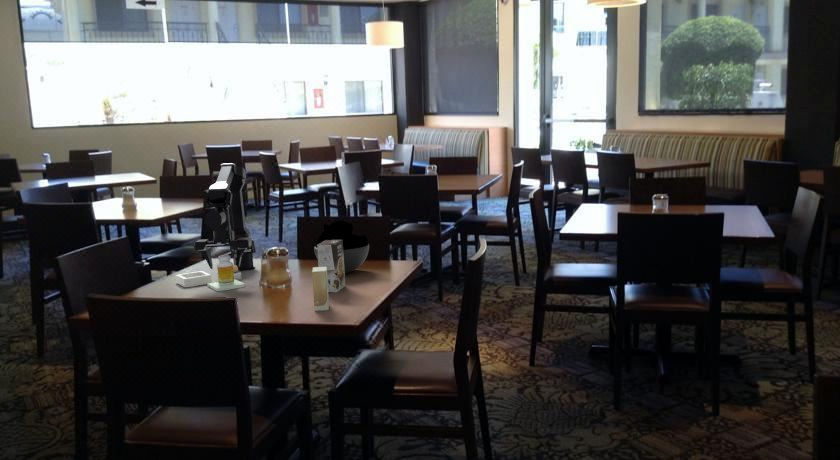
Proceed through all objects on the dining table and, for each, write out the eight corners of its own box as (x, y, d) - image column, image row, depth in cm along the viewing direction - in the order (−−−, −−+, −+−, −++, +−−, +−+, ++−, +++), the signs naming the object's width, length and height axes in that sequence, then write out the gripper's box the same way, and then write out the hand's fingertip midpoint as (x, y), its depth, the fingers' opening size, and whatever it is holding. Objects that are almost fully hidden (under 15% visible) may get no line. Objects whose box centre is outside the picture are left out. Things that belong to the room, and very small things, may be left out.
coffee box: (338, 292, 248) (335, 244, 246) (319, 292, 250) (316, 244, 247) (346, 286, 257) (343, 239, 255) (328, 285, 258) (325, 239, 256)
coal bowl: (363, 264, 291) (360, 216, 288) (376, 274, 273) (373, 223, 270) (311, 270, 285) (308, 220, 282) (321, 281, 266) (318, 228, 263)
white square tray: (203, 278, 278) (202, 270, 278) (211, 283, 271) (211, 274, 270) (176, 282, 273) (176, 274, 273) (184, 287, 265) (184, 279, 265)
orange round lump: (234, 274, 280) (233, 264, 280) (241, 277, 275) (240, 266, 274) (217, 277, 277) (216, 266, 276) (223, 280, 271) (222, 269, 271)
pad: (235, 281, 271) (235, 279, 271) (245, 286, 263) (245, 283, 263) (207, 286, 266) (207, 283, 265) (217, 291, 257) (217, 288, 257)
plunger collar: (235, 276, 280) (234, 269, 280) (241, 279, 275) (240, 272, 275) (217, 279, 277) (217, 272, 276) (223, 282, 271) (223, 275, 271)
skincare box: (315, 306, 232) (312, 266, 230) (329, 305, 233) (327, 266, 231) (314, 311, 226) (311, 271, 224) (328, 310, 226) (326, 270, 224)
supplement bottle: (235, 284, 263) (233, 256, 261) (220, 286, 260) (218, 258, 259) (232, 281, 267) (230, 254, 266) (217, 283, 265) (214, 255, 264)
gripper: (253, 219, 269) (256, 262, 271) (200, 221, 268) (204, 264, 271) (246, 223, 258) (250, 268, 260) (191, 226, 257) (195, 271, 260)
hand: (225, 268), depth 263 cm, fingers open, 9 cm apart
